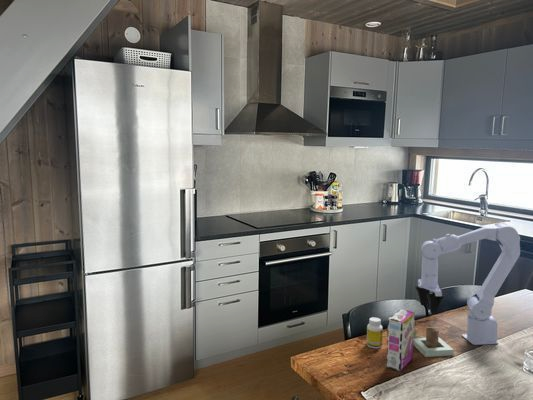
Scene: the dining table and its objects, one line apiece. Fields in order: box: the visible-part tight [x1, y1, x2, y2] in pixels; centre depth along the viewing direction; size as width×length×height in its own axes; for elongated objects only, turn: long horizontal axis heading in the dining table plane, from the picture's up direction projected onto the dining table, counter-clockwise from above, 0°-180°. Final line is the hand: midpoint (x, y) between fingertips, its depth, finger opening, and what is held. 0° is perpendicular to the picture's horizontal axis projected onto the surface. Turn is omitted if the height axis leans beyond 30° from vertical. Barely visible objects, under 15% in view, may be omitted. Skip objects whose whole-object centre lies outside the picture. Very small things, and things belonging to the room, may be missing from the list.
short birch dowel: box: [413, 328, 419, 338], centre depth 149 cm, size 4×4×4 cm
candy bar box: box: [386, 308, 415, 372], centre depth 132 cm, size 11×5×16 cm, turn 141°
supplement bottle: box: [366, 316, 383, 349], centre depth 145 cm, size 5×5×10 cm
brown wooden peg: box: [425, 327, 440, 348], centre depth 142 cm, size 4×4×7 cm
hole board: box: [413, 337, 455, 358], centre depth 142 cm, size 10×10×2 cm
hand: (428, 308), depth 152 cm, fingers open, 7 cm apart
